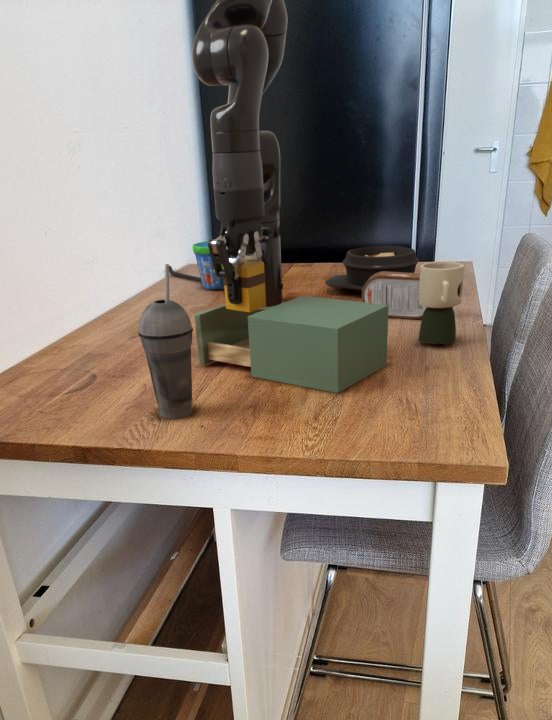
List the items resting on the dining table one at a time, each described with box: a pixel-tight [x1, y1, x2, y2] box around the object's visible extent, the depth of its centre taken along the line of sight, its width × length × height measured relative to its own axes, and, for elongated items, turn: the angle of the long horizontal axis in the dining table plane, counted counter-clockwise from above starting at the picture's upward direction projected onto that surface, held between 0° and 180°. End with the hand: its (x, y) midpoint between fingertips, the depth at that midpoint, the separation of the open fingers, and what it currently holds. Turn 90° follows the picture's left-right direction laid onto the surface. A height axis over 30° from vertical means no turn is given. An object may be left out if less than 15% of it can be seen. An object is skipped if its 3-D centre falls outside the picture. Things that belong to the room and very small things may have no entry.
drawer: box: [194, 302, 258, 368], centre depth 117 cm, size 17×15×8 cm
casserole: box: [324, 245, 420, 294], centre depth 159 cm, size 25×19×8 cm
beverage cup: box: [137, 263, 194, 420], centre depth 95 cm, size 7×7×20 cm
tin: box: [361, 271, 427, 320], centre depth 137 cm, size 15×3×8 cm, turn 65°
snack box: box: [223, 261, 266, 312], centre depth 114 cm, size 5×4×7 cm
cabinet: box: [248, 295, 389, 394], centre depth 110 cm, size 16×15×10 cm
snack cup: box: [192, 240, 237, 291], centre depth 169 cm, size 16×10×10 cm
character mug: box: [418, 261, 465, 347], centre depth 119 cm, size 11×7×13 cm, turn 179°
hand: (245, 299), depth 115 cm, fingers closed on snack box, 4 cm apart
